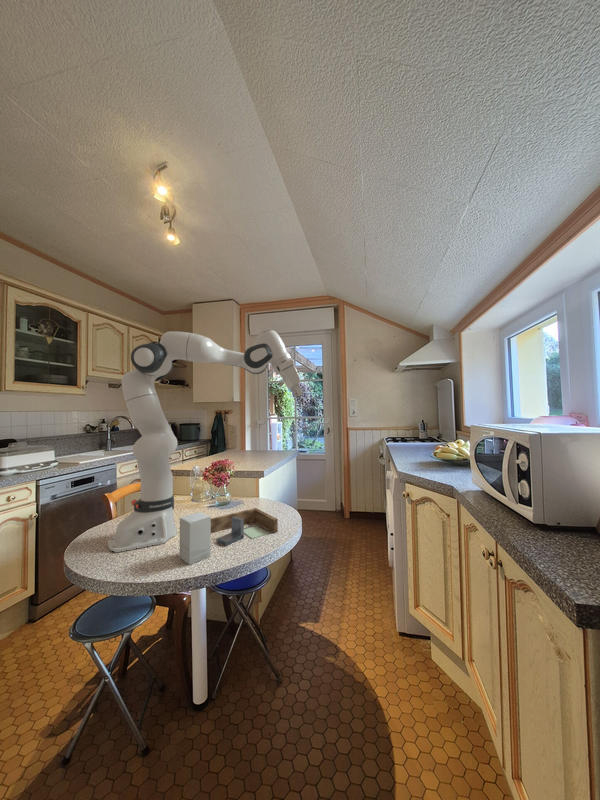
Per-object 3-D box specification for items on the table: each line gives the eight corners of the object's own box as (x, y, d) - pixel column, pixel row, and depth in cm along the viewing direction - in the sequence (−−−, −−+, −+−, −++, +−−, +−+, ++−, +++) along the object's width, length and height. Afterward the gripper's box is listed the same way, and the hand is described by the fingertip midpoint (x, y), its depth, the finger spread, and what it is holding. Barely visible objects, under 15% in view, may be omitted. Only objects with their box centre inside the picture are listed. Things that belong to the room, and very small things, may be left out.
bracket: (226, 546, 99) (226, 525, 100) (217, 542, 102) (217, 522, 103) (243, 538, 106) (243, 518, 106) (234, 534, 109) (234, 516, 109)
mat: (252, 539, 105) (252, 538, 105) (239, 530, 113) (239, 529, 113) (268, 533, 109) (268, 533, 109) (255, 525, 117) (255, 525, 117)
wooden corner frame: (223, 549, 97) (223, 534, 97) (205, 533, 110) (205, 520, 111) (277, 532, 110) (277, 519, 111) (255, 519, 124) (255, 507, 124)
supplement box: (211, 556, 92) (211, 516, 93) (188, 565, 87) (189, 522, 88) (200, 549, 97) (200, 511, 98) (178, 557, 92) (179, 517, 93)
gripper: (275, 373, 130) (290, 400, 130) (278, 366, 109) (295, 398, 110) (288, 366, 130) (302, 393, 131) (293, 358, 110) (310, 390, 111)
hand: (299, 395), depth 120 cm, fingers open, 8 cm apart
